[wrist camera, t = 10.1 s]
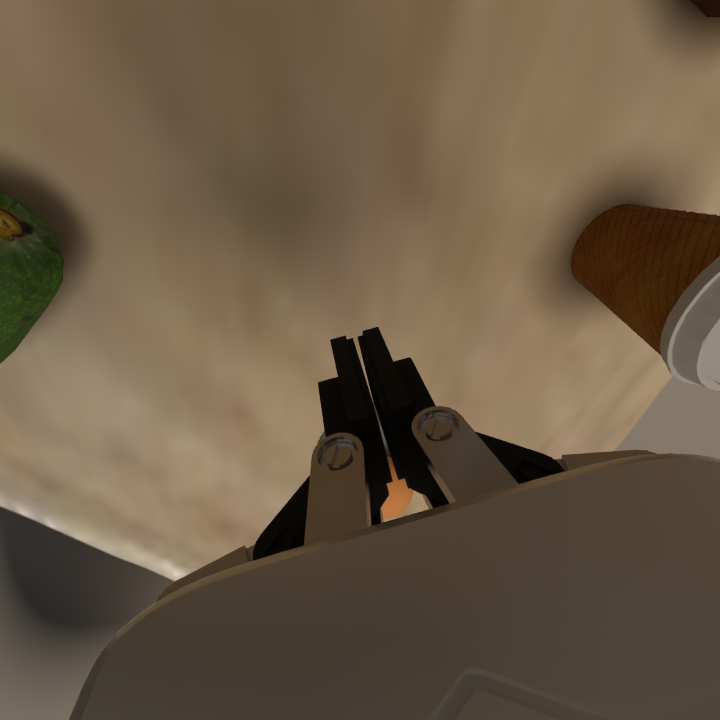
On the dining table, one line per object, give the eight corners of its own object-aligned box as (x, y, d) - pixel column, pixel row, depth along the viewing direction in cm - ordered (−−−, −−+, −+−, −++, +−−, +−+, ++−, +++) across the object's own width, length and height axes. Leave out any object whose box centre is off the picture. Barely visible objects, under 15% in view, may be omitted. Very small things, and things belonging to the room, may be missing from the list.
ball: (364, 539, 34) (358, 499, 39) (424, 523, 34) (410, 485, 39) (350, 487, 32) (345, 453, 37) (413, 471, 32) (400, 439, 38)
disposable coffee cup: (627, 307, 32) (777, 398, 23) (531, 300, 30) (652, 397, 20) (699, 188, 27) (933, 240, 17) (589, 169, 25) (787, 215, 15)
